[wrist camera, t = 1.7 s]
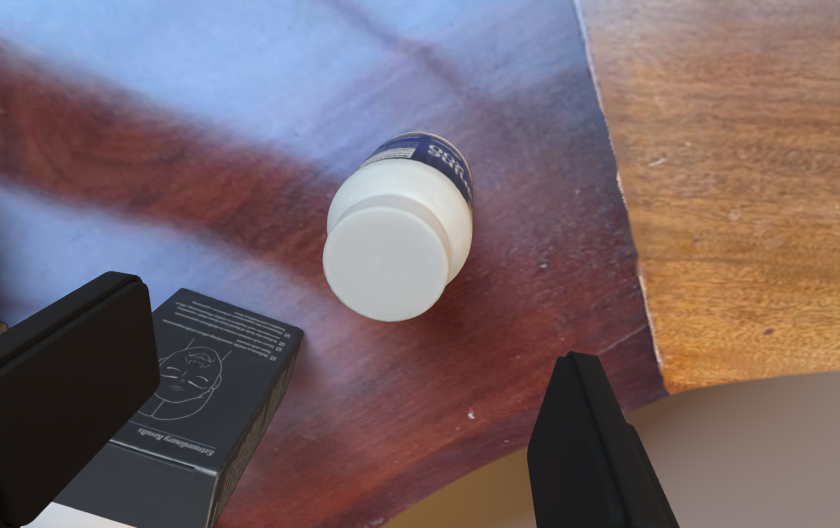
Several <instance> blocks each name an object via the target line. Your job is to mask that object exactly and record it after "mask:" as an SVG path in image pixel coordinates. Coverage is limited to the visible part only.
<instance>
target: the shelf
mask: <svg viewBox="0 0 840 528" xmlns="http://www.w3.org/2000/svg"><path fill="white" fill-rule="evenodd" d="M7 330H8V328H7V325H6V324H4V323H0V334H2V333H3V332H5V331H7Z"/></svg>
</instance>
